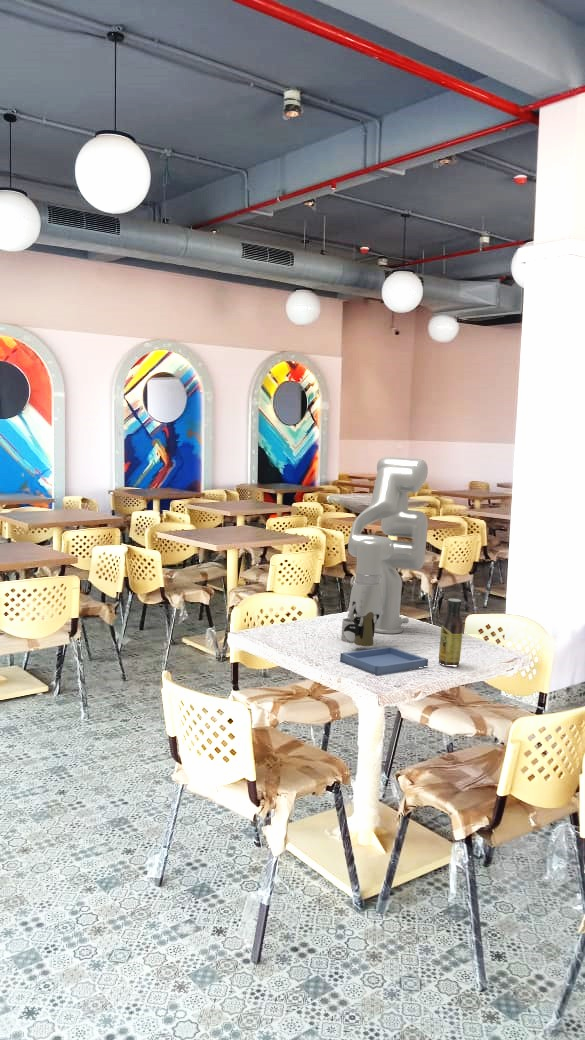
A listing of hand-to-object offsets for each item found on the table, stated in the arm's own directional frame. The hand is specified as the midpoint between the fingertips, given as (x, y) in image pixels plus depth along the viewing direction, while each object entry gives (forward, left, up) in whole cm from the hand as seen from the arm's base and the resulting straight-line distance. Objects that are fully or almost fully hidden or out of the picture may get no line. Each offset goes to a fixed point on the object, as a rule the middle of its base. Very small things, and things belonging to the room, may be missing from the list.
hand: (364, 636), depth 256 cm
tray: (+6, +16, -4) cm, 17 cm away
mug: (-6, -10, -5) cm, 13 cm away
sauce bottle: (-12, +25, -5) cm, 28 cm away
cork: (0, 0, -3) cm, 3 cm away
